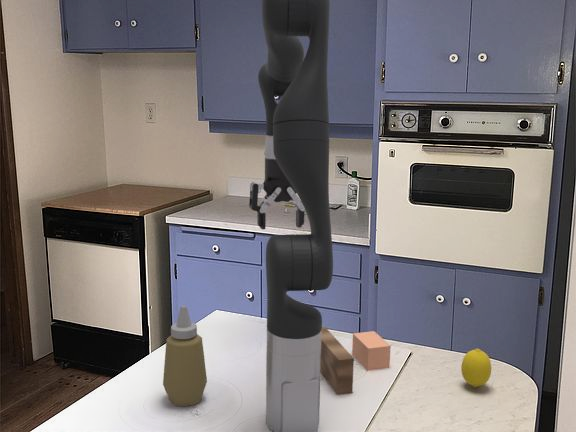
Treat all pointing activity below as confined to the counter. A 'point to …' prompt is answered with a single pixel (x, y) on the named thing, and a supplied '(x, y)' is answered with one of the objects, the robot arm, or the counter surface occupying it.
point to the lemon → (476, 368)
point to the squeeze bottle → (184, 362)
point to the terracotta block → (371, 350)
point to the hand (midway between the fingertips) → (280, 227)
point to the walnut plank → (336, 363)
